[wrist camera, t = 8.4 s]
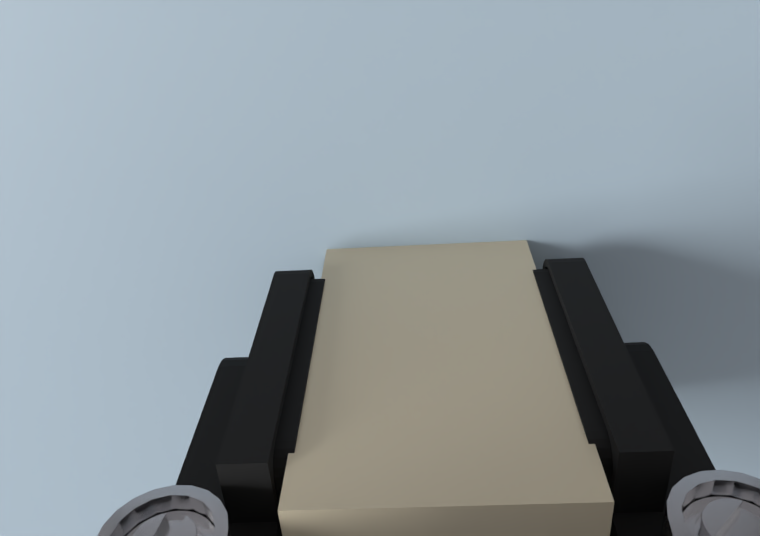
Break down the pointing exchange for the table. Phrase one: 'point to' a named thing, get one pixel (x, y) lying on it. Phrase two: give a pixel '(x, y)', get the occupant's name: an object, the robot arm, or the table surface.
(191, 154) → the door
